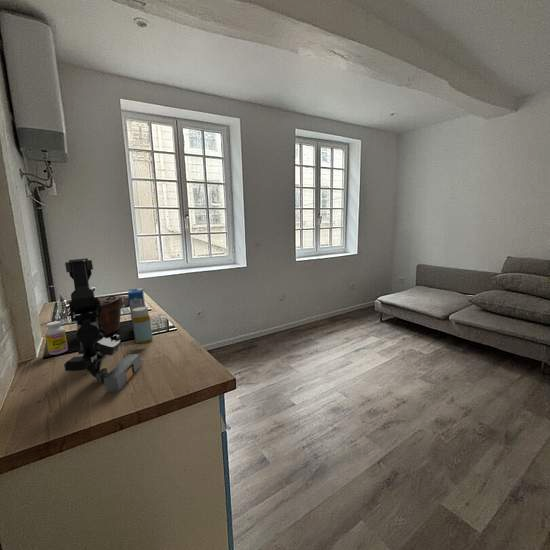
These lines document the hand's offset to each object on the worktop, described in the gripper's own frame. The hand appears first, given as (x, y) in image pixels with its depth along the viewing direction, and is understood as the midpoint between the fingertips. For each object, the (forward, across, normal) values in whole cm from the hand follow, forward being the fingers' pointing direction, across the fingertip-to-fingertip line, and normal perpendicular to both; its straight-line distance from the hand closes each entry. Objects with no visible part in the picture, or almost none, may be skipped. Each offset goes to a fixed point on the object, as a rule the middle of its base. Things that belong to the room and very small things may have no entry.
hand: (96, 376), depth 96 cm
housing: (+1, 0, -9) cm, 9 cm away
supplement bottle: (+2, +25, +31) cm, 40 cm away
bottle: (+1, +32, -2) cm, 32 cm away
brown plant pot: (+1, +48, +24) cm, 54 cm away
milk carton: (+1, +47, +6) cm, 48 cm away
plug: (+1, 0, -6) cm, 6 cm away
